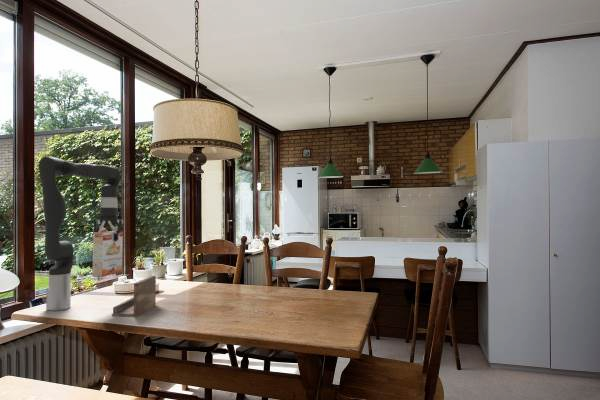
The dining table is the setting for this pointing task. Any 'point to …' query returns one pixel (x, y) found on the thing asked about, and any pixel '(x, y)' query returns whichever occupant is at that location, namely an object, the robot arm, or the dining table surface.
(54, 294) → the robot arm
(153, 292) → the grey l-shaped bracket
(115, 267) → the cracker box
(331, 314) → the dining table surface
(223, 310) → the dining table surface
